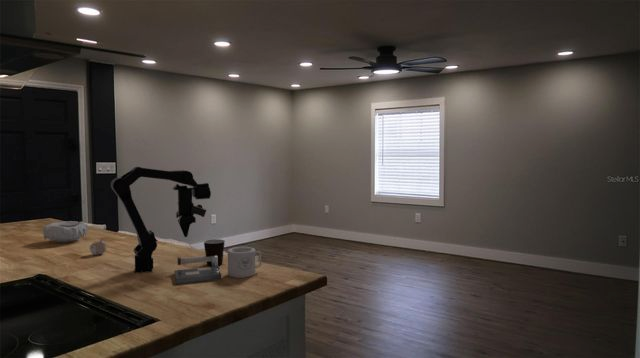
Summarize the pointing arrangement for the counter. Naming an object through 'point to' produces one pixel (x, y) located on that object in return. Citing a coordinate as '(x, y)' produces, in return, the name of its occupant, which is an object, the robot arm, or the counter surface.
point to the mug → (242, 262)
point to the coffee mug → (214, 249)
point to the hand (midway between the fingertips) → (185, 236)
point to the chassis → (197, 275)
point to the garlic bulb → (98, 247)
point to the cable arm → (199, 260)
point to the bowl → (65, 231)
